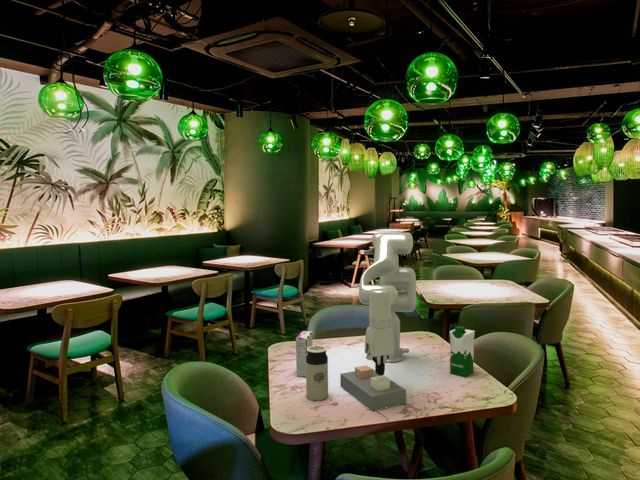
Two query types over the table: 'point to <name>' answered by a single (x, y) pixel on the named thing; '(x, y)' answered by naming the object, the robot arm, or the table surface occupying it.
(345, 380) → the gray socket board
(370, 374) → the terracotta key
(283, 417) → the table surface
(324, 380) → the travel mug
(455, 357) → the milk carton
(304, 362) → the candy bar box
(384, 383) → the cream cube
